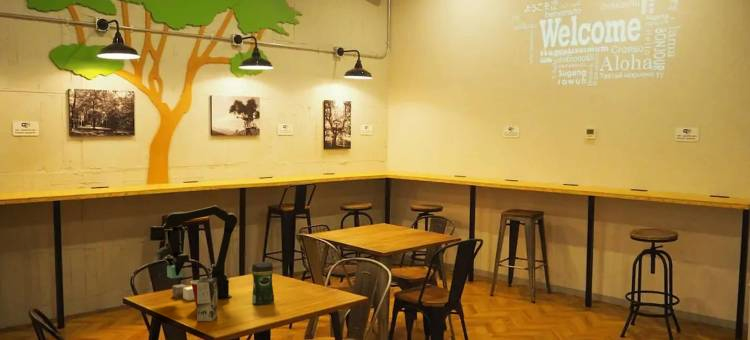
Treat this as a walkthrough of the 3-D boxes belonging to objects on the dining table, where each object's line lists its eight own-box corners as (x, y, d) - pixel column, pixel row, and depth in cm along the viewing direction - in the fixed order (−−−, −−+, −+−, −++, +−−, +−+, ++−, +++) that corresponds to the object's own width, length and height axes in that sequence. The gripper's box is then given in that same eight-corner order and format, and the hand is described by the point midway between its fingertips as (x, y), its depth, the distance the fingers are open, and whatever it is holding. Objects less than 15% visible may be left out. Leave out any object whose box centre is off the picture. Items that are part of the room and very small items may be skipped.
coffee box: (212, 321, 278) (212, 282, 277) (197, 321, 278) (196, 282, 277) (218, 315, 287) (217, 277, 286) (203, 315, 287) (202, 277, 286)
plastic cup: (220, 305, 302) (220, 279, 301) (207, 312, 291) (206, 284, 291) (199, 303, 305) (199, 277, 304) (185, 309, 295) (185, 282, 294)
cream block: (198, 298, 314) (197, 288, 314) (187, 300, 311) (187, 289, 311) (193, 296, 318) (193, 286, 318) (183, 298, 315) (183, 287, 315)
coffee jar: (271, 299, 312) (271, 259, 311) (275, 304, 304) (275, 262, 303) (250, 302, 308) (249, 261, 307) (254, 306, 301) (253, 264, 300)
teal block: (182, 276, 310) (182, 266, 310) (171, 278, 307) (171, 267, 306) (177, 275, 314) (177, 264, 313) (167, 276, 310) (167, 265, 310)
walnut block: (187, 296, 318) (187, 286, 318) (177, 298, 315) (177, 287, 315) (182, 294, 322) (182, 284, 322) (172, 296, 319) (172, 285, 319)
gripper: (148, 239, 311) (149, 273, 312) (165, 245, 297) (166, 280, 298) (171, 237, 318) (172, 270, 319) (189, 242, 304) (190, 276, 305)
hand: (174, 274), depth 310 cm, fingers closed on teal block, 5 cm apart
